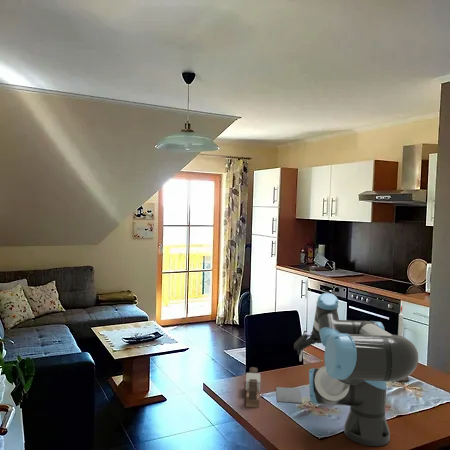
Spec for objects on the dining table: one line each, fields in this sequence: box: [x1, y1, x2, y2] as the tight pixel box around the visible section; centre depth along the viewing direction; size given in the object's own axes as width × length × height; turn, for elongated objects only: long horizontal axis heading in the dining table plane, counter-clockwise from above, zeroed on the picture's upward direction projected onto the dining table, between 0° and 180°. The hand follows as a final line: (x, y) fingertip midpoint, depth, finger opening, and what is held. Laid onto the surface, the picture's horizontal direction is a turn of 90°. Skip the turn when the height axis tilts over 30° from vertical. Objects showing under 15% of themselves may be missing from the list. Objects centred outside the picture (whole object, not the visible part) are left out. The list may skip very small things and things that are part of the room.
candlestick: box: [395, 305, 410, 383], centre depth 204 cm, size 11×11×35 cm
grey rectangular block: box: [245, 372, 262, 392], centre depth 184 cm, size 9×6×4 cm, turn 176°
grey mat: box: [275, 386, 303, 404], centre depth 183 cm, size 14×10×1 cm
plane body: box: [245, 366, 260, 408], centre depth 184 cm, size 26×5×10 cm, turn 176°
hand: (316, 359), depth 182 cm, fingers open, 13 cm apart
